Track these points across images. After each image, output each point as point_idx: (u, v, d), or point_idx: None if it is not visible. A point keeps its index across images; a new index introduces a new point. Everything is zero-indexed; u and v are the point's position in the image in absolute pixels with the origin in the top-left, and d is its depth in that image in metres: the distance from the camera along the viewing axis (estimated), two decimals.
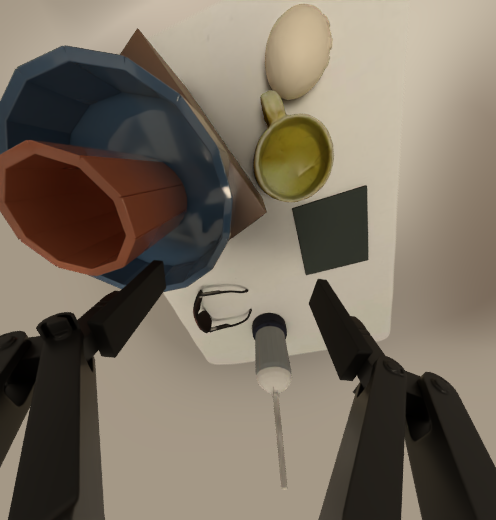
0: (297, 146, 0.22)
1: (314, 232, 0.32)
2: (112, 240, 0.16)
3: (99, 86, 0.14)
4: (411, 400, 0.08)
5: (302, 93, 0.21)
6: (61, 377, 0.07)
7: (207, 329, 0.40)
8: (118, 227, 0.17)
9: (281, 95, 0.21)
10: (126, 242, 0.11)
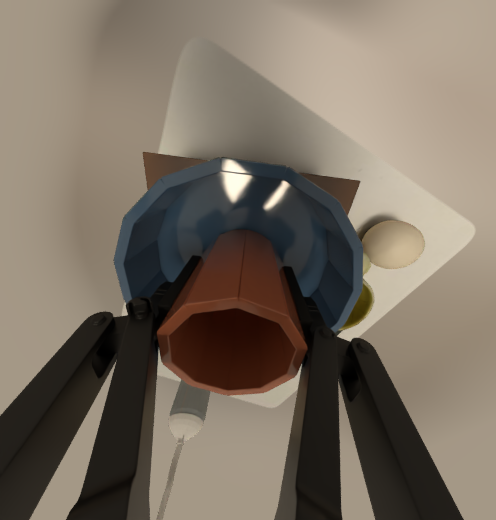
0: None
1: None
2: None
3: (306, 196, 0.13)
4: (340, 360, 0.09)
5: (375, 264, 0.26)
6: (136, 352, 0.08)
7: None
8: None
9: None
10: (255, 390, 0.11)
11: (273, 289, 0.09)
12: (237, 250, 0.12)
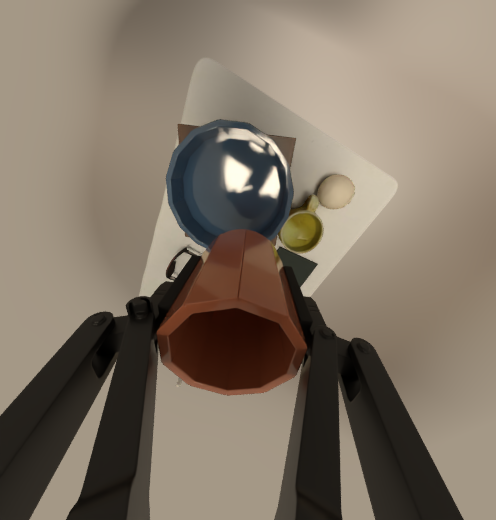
0: (307, 226, 0.39)
1: None
2: None
3: (263, 144, 0.25)
4: (340, 360, 0.09)
5: (326, 207, 0.38)
6: (136, 352, 0.08)
7: (168, 275, 0.48)
8: None
9: None
10: (255, 390, 0.11)
11: (273, 289, 0.09)
12: (237, 250, 0.12)
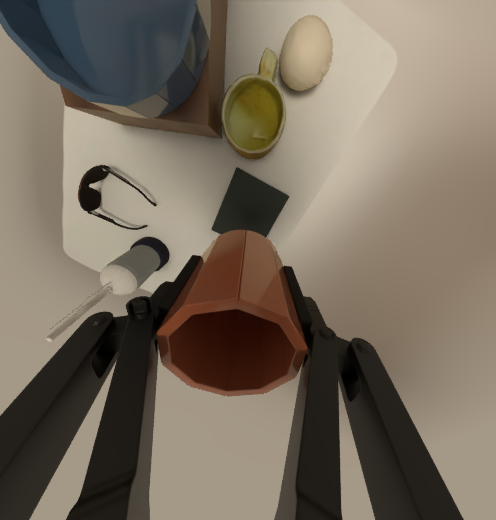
0: (265, 114, 0.26)
1: (238, 200, 0.37)
2: None
3: None
4: (340, 360, 0.09)
5: (292, 84, 0.26)
6: (136, 352, 0.08)
7: (86, 208, 0.36)
8: None
9: (281, 70, 0.26)
10: (255, 390, 0.11)
11: (273, 290, 0.09)
12: (237, 251, 0.12)
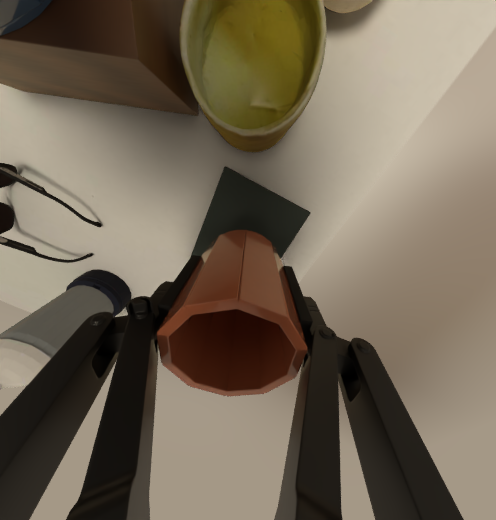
0: (277, 55, 0.13)
1: (229, 218, 0.23)
2: None
3: None
4: (339, 360, 0.09)
5: None
6: (136, 352, 0.08)
7: None
8: None
9: None
10: (255, 391, 0.11)
11: (273, 290, 0.09)
12: (237, 251, 0.12)
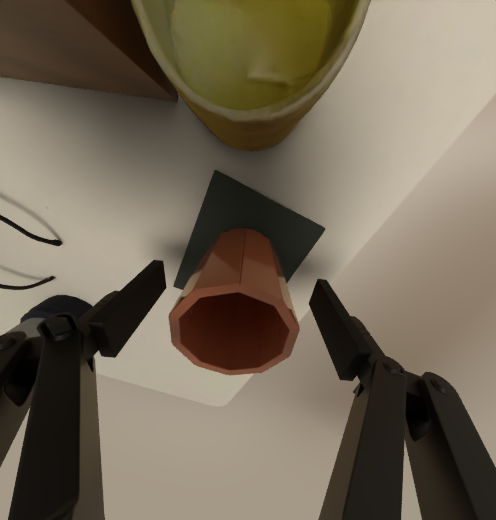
0: None
1: None
2: (203, 302, 0.15)
3: None
4: (411, 400, 0.08)
5: None
6: (61, 377, 0.07)
7: None
8: None
9: None
10: (254, 369, 0.12)
11: (269, 278, 0.11)
12: (238, 246, 0.13)
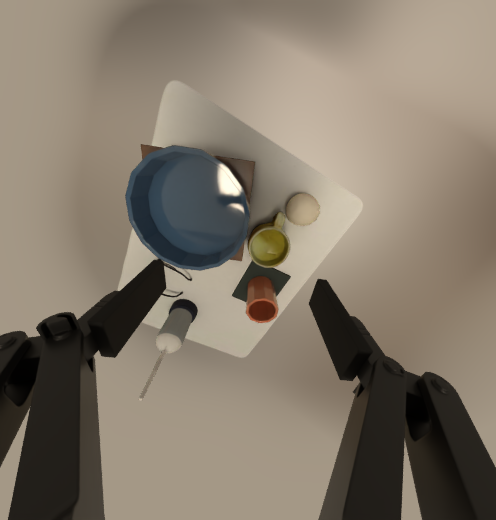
0: (276, 241, 0.40)
1: None
2: None
3: None
4: (411, 400, 0.08)
5: None
6: (61, 377, 0.07)
7: None
8: None
9: (287, 216, 0.39)
10: (266, 321, 0.44)
11: (271, 296, 0.43)
12: (262, 286, 0.45)
